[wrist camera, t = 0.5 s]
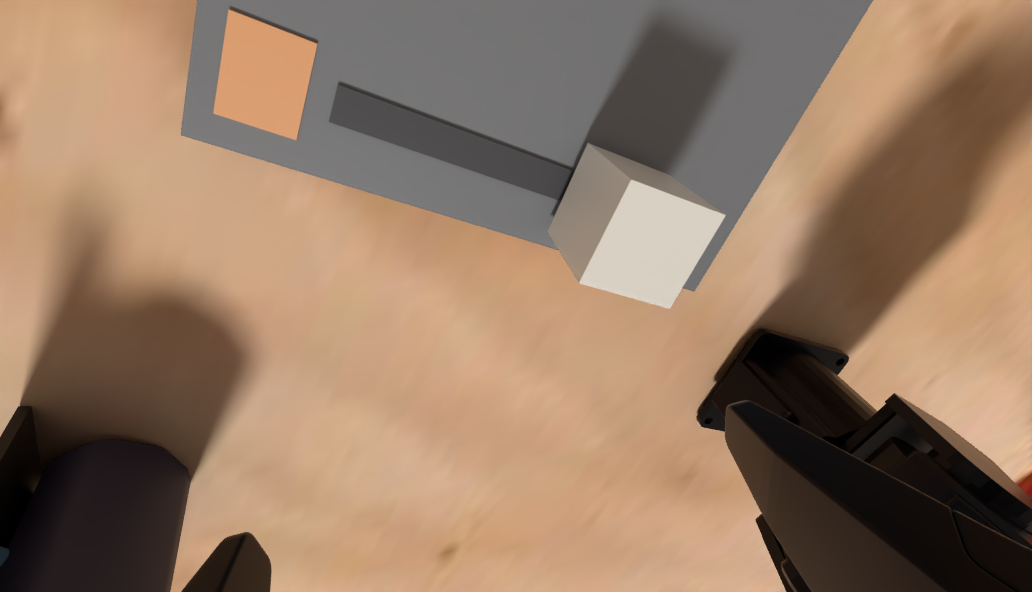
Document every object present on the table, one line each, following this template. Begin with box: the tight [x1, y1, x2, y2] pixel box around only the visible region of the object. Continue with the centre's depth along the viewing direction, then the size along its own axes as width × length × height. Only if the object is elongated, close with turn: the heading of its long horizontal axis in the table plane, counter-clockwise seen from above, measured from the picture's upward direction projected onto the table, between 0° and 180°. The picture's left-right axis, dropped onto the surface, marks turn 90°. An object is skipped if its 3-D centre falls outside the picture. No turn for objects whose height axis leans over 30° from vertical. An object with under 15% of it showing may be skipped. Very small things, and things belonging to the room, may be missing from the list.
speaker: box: [0, 406, 190, 592], centre depth 20 cm, size 8×6×10 cm
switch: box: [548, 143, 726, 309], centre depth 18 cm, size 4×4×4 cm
